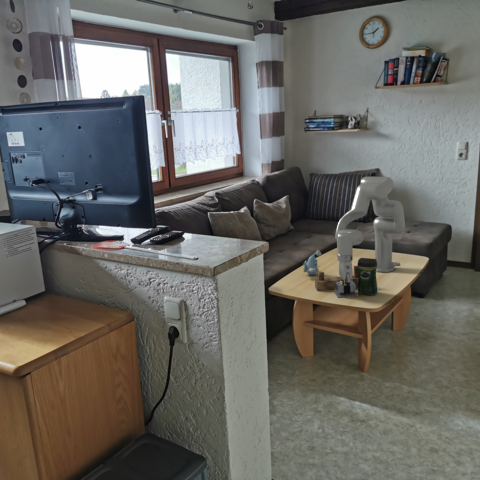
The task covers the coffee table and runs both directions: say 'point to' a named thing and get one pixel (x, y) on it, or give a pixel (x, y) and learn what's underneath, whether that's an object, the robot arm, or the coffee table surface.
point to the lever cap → (340, 286)
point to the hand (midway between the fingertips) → (345, 290)
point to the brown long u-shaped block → (333, 281)
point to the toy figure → (311, 264)
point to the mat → (345, 294)
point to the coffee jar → (367, 276)
